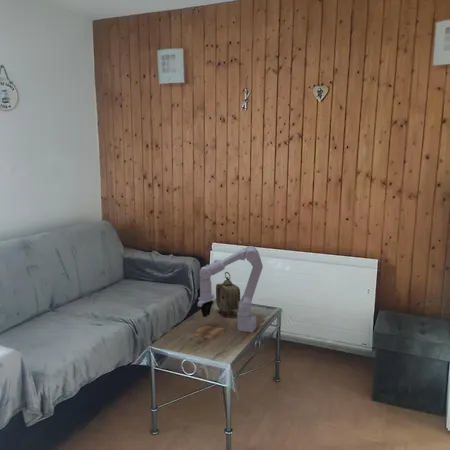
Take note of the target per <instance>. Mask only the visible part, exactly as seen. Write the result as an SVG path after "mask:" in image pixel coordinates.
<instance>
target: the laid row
mask: <svg viewBox="0 0 450 450" xmlns="http://www.w3.org/2000/svg"><path fill="white" fill-rule="evenodd" d="M190 336H195V337H201V338H206V339H212V340H216V339H218V338H219V337H221V335H216V334H210V333H205V332H199V331H196V330H195V331H193V332H192V333H191V334H190Z"/></svg>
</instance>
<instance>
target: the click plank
mask: <svg viewBox="0 0 450 450" xmlns="http://www.w3.org/2000/svg"><path fill="white" fill-rule="evenodd" d="M226 330H228V329H227V328H223V327H218V326H217V327H216V326H210V325H205V324H204V325H203V324H202V325H201V326H200V327H198V328H197V329H196V330H195V331H198V332H204V333H209V334H215V335H220V336H221V335H222V334H223V333H224V332H225V331H226Z"/></svg>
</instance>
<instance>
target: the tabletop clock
mask: <svg viewBox="0 0 450 450" xmlns="http://www.w3.org/2000/svg"><path fill="white" fill-rule="evenodd" d="M226 274H228V276H227V275H226ZM229 277H231V274H230V273H229V272H228V271H225V272H224V278H225V280H223V282H222V283H216V286H215V299H216V300H215V301H216V306H217V308H218V309H219V310H218V313H222V312H224V313H226V312H227V315H226V319H230V315H233V313H234V311H238V310H239V307H238V303H239V301H240V300H241V290H240V287H239V286H237V285H236V284H234V283H233V282H232V280H231V278H229Z"/></svg>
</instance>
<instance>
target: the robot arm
mask: <svg viewBox="0 0 450 450" xmlns="http://www.w3.org/2000/svg"><path fill="white" fill-rule="evenodd" d="M238 261H243V262H244V261H245V262H246V261H248V263H250V264H251V266H252V269H251V272H250V274H249V277H248V280H247V284H246V287H245V289H244V292H243V295H242V296H241V298H240V301H239V303H238V307H239V309H238V310H237V311H238V312H237V313H236V314H237V319H236V321H237V323H236V324H237V331H240V332H246V333H248V332H249V333H253V332H254V331H256V329H257V316H256V315H255V314H254V315H253V314H252V309H251V306H252V303H253V302H252V301H253V298H254V295H255V293H256V292H255V291H256V289H257V285H258V283H259V280H260V277H261V274H262V271H263V267H264V266H263V263H262V259H261V255H260V252H259V251H258V249H257V248H256V247H255V246H252V245H248V246H246V247H244V248H241V249H239V250H238V251H237V252H234V253H233V254H231V255H229V256H227V257H226V258H224V259H214V262H211V263H210V264H206V265H205V266H202V267H201V268H200V270H199V277H200V278H199V295H200V296H199V297H198V298H197V299H198V302H197V307H198V308H200V311H201V313H202V317H204V318H207V317H208V316H210V313H211V310H212V306H213V304H214V300H213V299H214V298H215V297H214V296H215V294H213V293H212V279H211V277H212V276H214V275H216V274H218V273H220V272H222V271H224V270H225V268H226V267H227V266H229V265H231V264H233V263H235V262H238Z"/></svg>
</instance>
